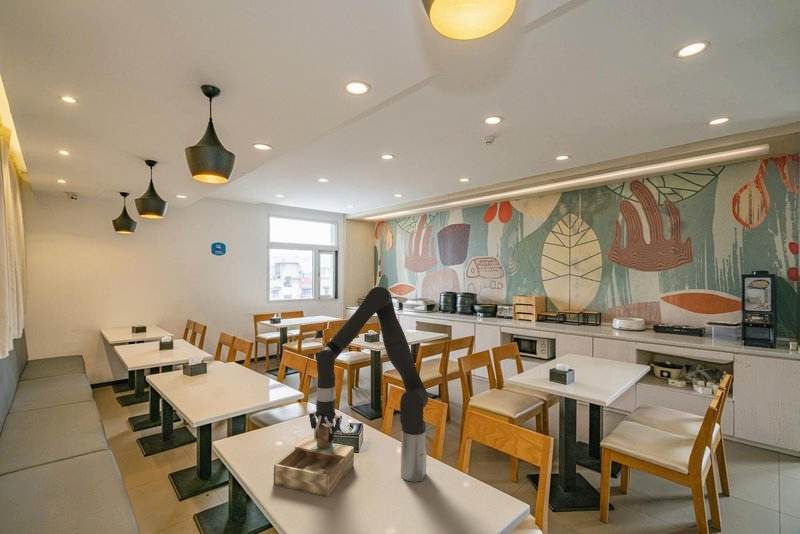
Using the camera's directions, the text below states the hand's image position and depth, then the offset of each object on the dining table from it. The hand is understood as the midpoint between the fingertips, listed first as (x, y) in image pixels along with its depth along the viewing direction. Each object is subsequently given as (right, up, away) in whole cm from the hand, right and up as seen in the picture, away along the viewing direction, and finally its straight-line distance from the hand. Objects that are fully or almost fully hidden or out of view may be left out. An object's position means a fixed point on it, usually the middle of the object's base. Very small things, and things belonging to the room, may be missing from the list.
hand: (324, 440), depth 143 cm
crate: (-2, -10, -7) cm, 12 cm away
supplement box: (-3, -11, +13) cm, 17 cm away
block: (0, -2, 0) cm, 2 cm away
